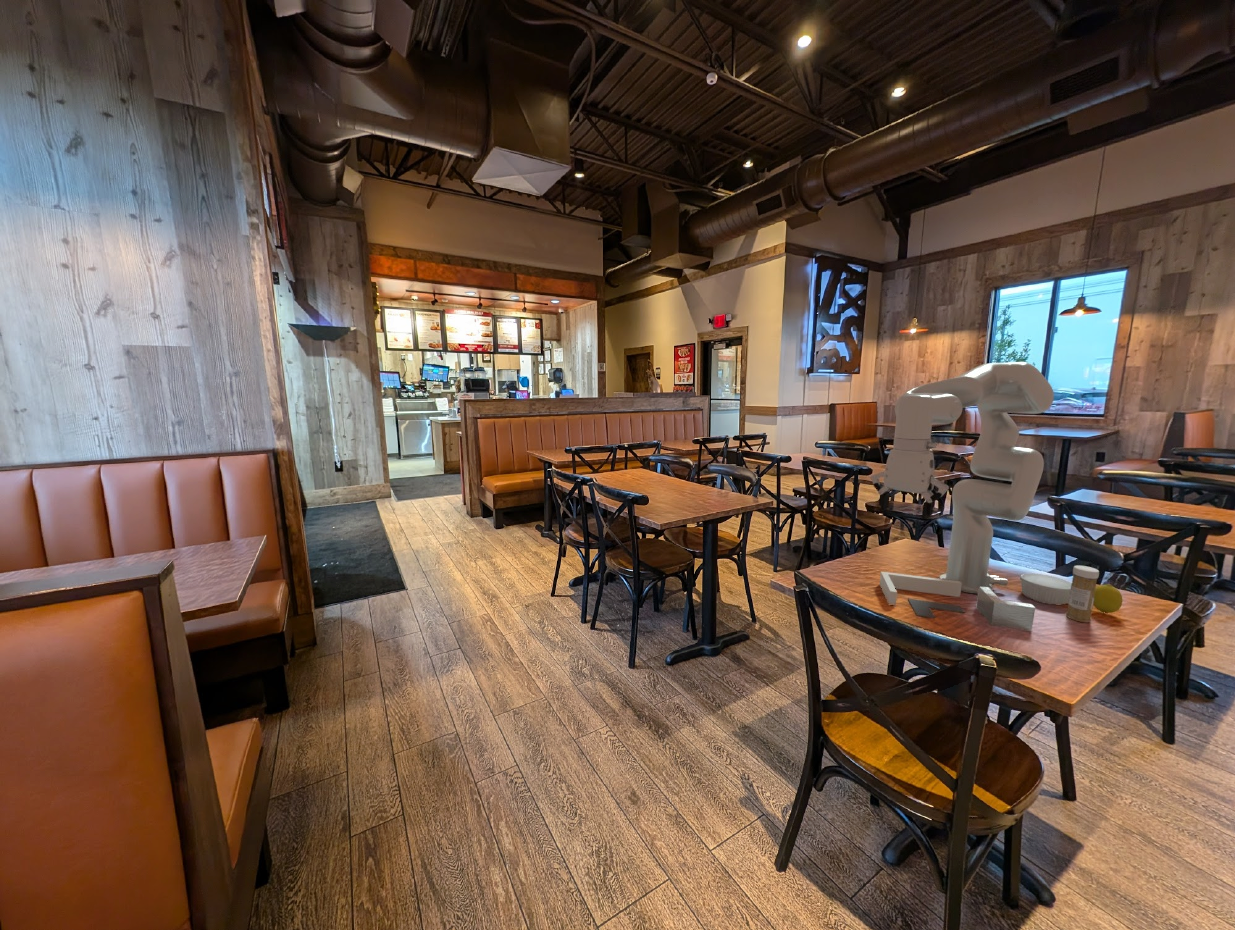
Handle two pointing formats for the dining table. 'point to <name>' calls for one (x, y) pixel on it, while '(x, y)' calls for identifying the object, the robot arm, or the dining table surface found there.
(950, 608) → the pose mat
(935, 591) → the light grey l-shaped block
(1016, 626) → the angle bracket
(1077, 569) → the sprinkles bottle
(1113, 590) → the lemon
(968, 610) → the dining table surface
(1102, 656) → the dining table surface
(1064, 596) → the ramekin
